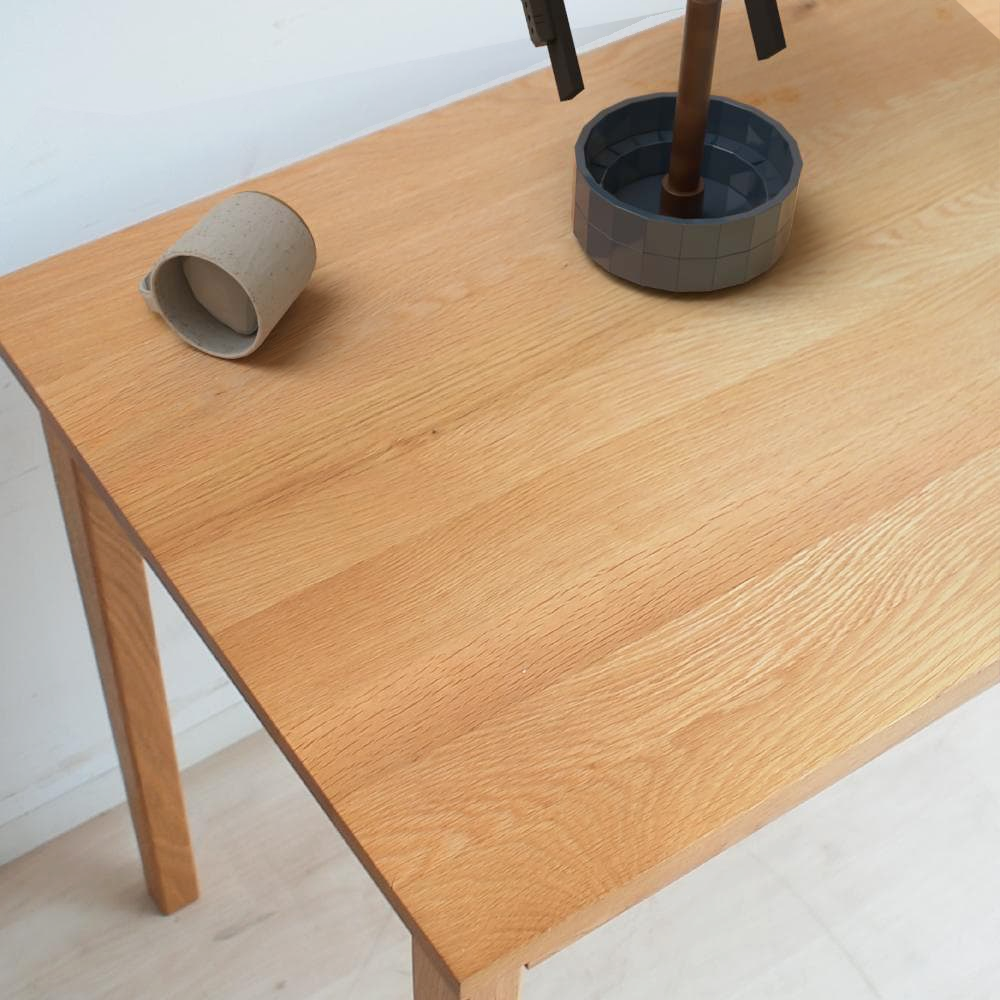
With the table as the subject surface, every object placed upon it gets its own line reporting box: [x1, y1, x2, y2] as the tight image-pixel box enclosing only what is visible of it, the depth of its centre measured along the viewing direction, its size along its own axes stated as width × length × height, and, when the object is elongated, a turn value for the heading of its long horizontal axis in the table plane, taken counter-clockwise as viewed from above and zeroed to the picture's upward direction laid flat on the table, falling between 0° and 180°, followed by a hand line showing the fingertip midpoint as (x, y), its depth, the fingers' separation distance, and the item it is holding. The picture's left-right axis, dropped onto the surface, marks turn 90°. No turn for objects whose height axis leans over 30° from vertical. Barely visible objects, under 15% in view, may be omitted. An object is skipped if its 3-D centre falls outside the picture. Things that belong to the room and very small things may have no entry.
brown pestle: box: [658, 0, 723, 219], centre depth 89 cm, size 3×3×16 cm
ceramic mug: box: [138, 190, 318, 360], centre depth 87 cm, size 11×8×8 cm
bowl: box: [570, 91, 804, 293], centre depth 93 cm, size 14×14×6 cm
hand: (674, 75), depth 90 cm, fingers open, 13 cm apart
